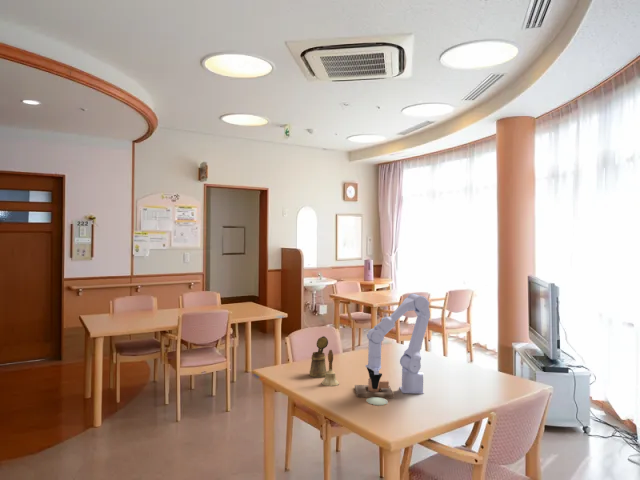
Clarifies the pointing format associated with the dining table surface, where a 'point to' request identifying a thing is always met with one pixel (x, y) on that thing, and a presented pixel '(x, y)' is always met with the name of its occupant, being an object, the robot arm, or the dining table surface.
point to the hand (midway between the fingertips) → (373, 386)
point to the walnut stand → (383, 394)
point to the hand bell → (330, 373)
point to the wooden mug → (319, 359)
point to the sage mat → (377, 401)
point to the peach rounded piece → (381, 385)
